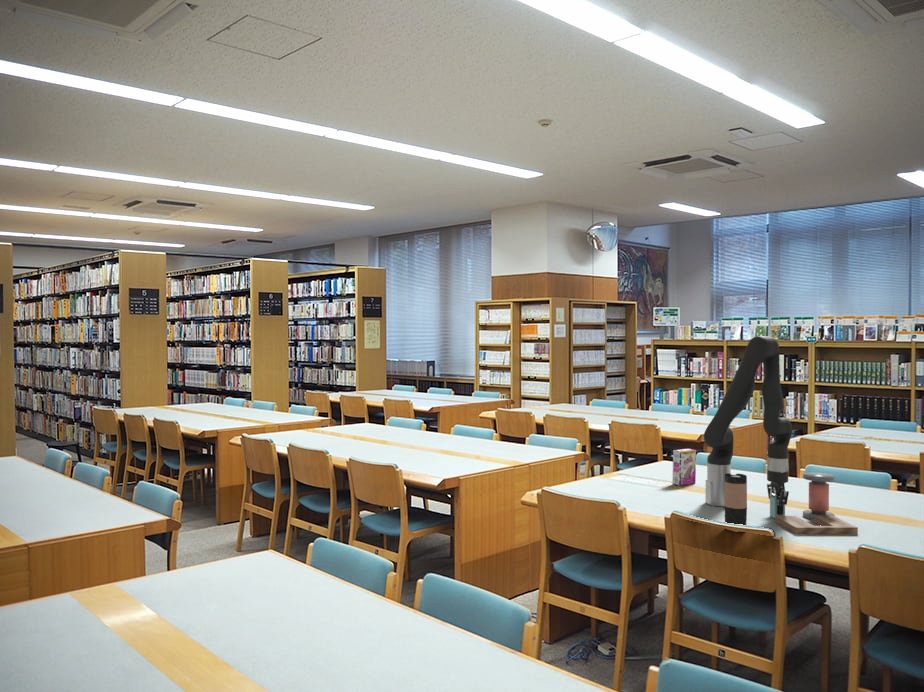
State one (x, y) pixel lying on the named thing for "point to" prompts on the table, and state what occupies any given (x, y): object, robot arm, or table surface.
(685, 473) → the candy bar box
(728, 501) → the travel mug
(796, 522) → the notched board
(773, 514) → the teal peg
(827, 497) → the bobbin
